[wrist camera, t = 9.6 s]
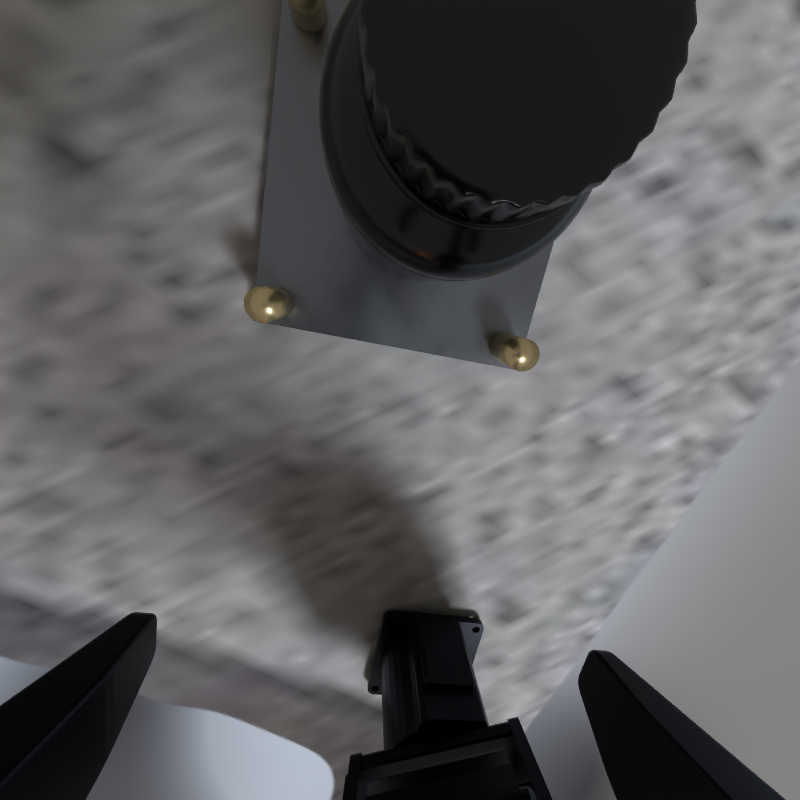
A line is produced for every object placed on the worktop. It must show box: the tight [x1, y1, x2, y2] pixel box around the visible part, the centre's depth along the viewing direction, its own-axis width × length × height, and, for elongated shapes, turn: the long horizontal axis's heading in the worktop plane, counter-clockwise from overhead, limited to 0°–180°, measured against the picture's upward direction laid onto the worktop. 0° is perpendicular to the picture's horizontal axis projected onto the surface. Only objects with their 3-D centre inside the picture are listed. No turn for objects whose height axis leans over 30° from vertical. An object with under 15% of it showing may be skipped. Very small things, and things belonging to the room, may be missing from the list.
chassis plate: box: [244, 0, 554, 371], centre depth 16 cm, size 13×13×3 cm
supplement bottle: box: [319, 0, 697, 282], centre depth 11 cm, size 7×7×12 cm
